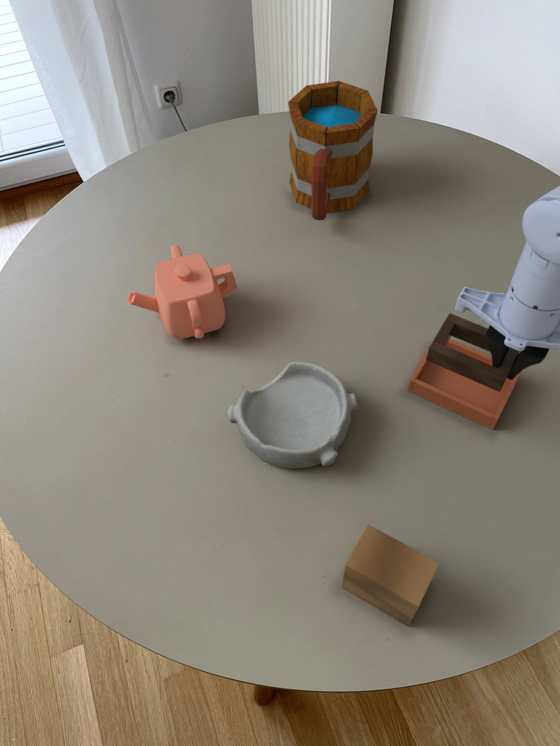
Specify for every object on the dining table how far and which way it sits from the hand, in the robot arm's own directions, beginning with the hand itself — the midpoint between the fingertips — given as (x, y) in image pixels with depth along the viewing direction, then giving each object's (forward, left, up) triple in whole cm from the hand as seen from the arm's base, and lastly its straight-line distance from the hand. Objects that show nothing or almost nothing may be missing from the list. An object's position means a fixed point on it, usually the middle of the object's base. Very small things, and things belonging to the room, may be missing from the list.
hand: (504, 369), depth 74 cm
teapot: (+43, +5, -11) cm, 44 cm away
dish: (+20, +13, -11) cm, 26 cm away
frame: (+4, 0, 0) cm, 4 cm away
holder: (+4, -3, -10) cm, 12 cm away
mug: (+38, -27, -11) cm, 47 cm away
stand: (+1, +26, -10) cm, 28 cm away
